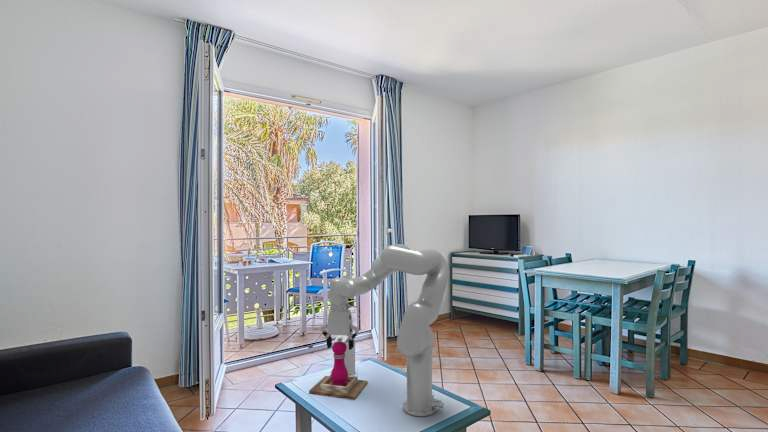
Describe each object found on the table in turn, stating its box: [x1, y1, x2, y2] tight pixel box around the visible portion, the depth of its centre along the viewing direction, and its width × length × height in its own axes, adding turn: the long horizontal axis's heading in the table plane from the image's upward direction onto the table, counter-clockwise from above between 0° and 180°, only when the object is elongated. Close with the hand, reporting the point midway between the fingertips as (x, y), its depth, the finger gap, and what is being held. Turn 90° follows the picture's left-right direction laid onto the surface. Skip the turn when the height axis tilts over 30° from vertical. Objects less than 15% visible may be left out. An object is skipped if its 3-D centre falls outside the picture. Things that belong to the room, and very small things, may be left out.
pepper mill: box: [330, 338, 348, 387], centre depth 166 cm, size 7×7×20 cm
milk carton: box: [333, 335, 356, 376], centre depth 182 cm, size 7×7×19 cm
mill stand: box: [308, 374, 369, 401], centre depth 166 cm, size 20×16×3 cm
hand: (340, 348), depth 165 cm, fingers open, 9 cm apart
